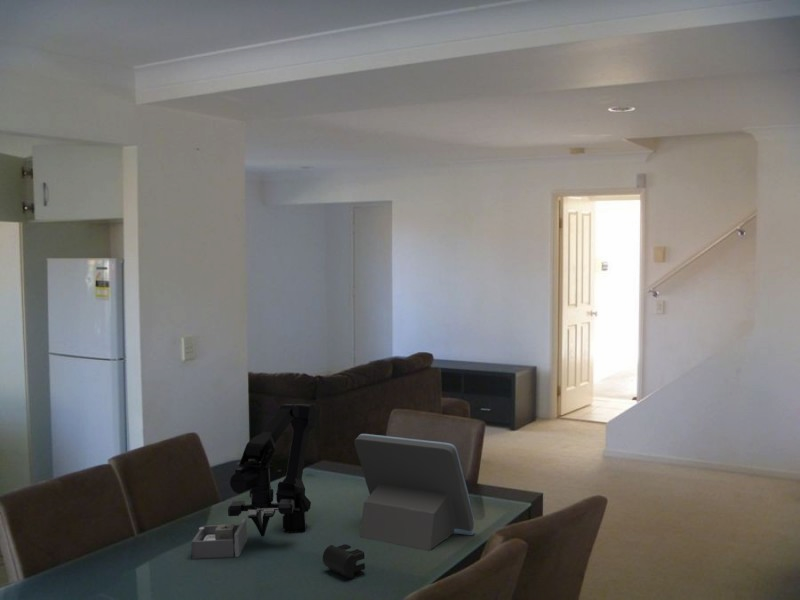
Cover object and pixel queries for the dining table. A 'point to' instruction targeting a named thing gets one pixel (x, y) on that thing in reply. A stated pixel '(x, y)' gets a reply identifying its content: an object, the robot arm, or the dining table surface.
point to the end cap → (344, 560)
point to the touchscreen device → (412, 491)
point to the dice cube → (225, 532)
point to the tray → (236, 538)
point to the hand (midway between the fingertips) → (263, 536)
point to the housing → (211, 545)
